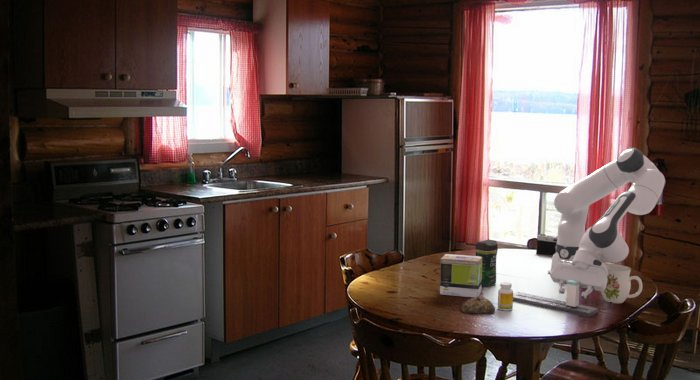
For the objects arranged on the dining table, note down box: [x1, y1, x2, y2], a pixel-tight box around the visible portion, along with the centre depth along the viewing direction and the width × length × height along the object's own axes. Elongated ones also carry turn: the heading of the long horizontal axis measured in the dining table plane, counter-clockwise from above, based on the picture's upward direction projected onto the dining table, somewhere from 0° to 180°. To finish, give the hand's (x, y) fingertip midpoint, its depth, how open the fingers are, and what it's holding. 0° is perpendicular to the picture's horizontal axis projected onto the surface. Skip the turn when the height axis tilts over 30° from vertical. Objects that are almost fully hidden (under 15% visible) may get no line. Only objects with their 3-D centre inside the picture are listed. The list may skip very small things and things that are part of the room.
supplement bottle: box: [497, 281, 514, 312], centre depth 267 cm, size 5×5×10 cm
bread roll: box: [460, 295, 496, 315], centre depth 267 cm, size 13×12×5 cm
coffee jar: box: [474, 239, 499, 287], centre depth 301 cm, size 10×8×19 cm
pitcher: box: [600, 262, 644, 304], centre depth 279 cm, size 11×18×14 cm, turn 51°
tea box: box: [439, 253, 483, 298], centre depth 287 cm, size 15×10×15 cm, turn 71°
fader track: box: [513, 291, 599, 318], centre depth 273 cm, size 8×32×2 cm, turn 50°
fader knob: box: [565, 280, 580, 307], centre depth 267 cm, size 3×4×9 cm
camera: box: [535, 233, 558, 257], centre depth 359 cm, size 14×9×10 cm, turn 50°
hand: (572, 294), depth 266 cm, fingers open, 7 cm apart
